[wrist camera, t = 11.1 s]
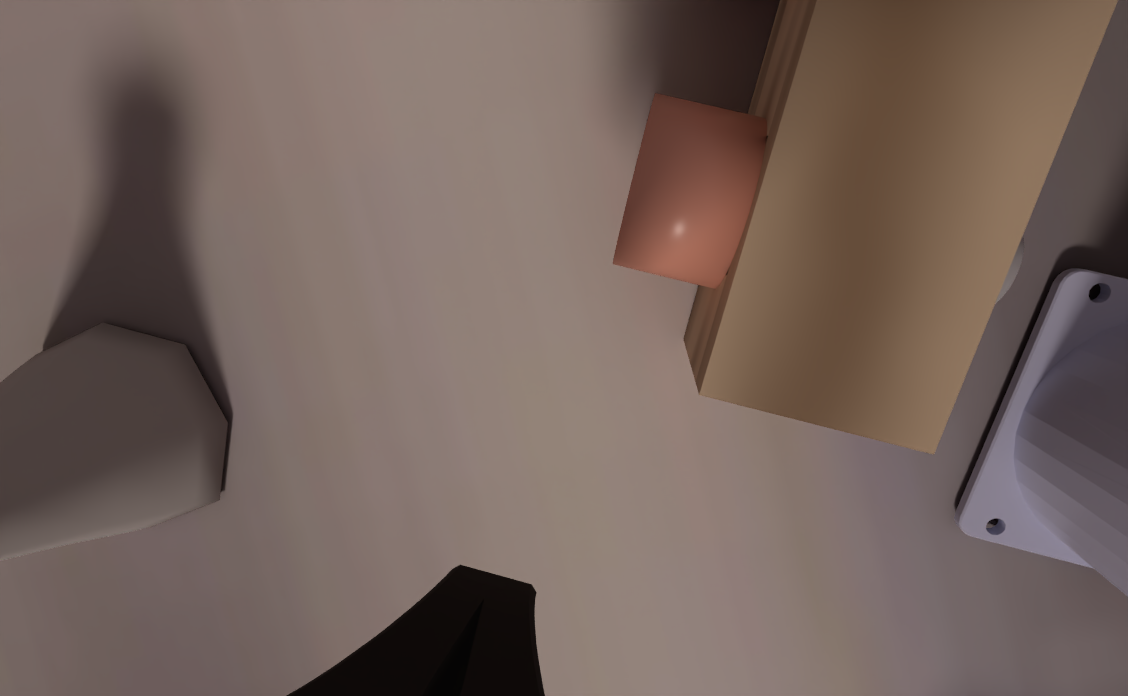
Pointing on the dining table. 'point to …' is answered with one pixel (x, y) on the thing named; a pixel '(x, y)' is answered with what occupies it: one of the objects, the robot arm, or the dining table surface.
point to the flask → (105, 440)
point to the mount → (888, 204)
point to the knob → (698, 192)
